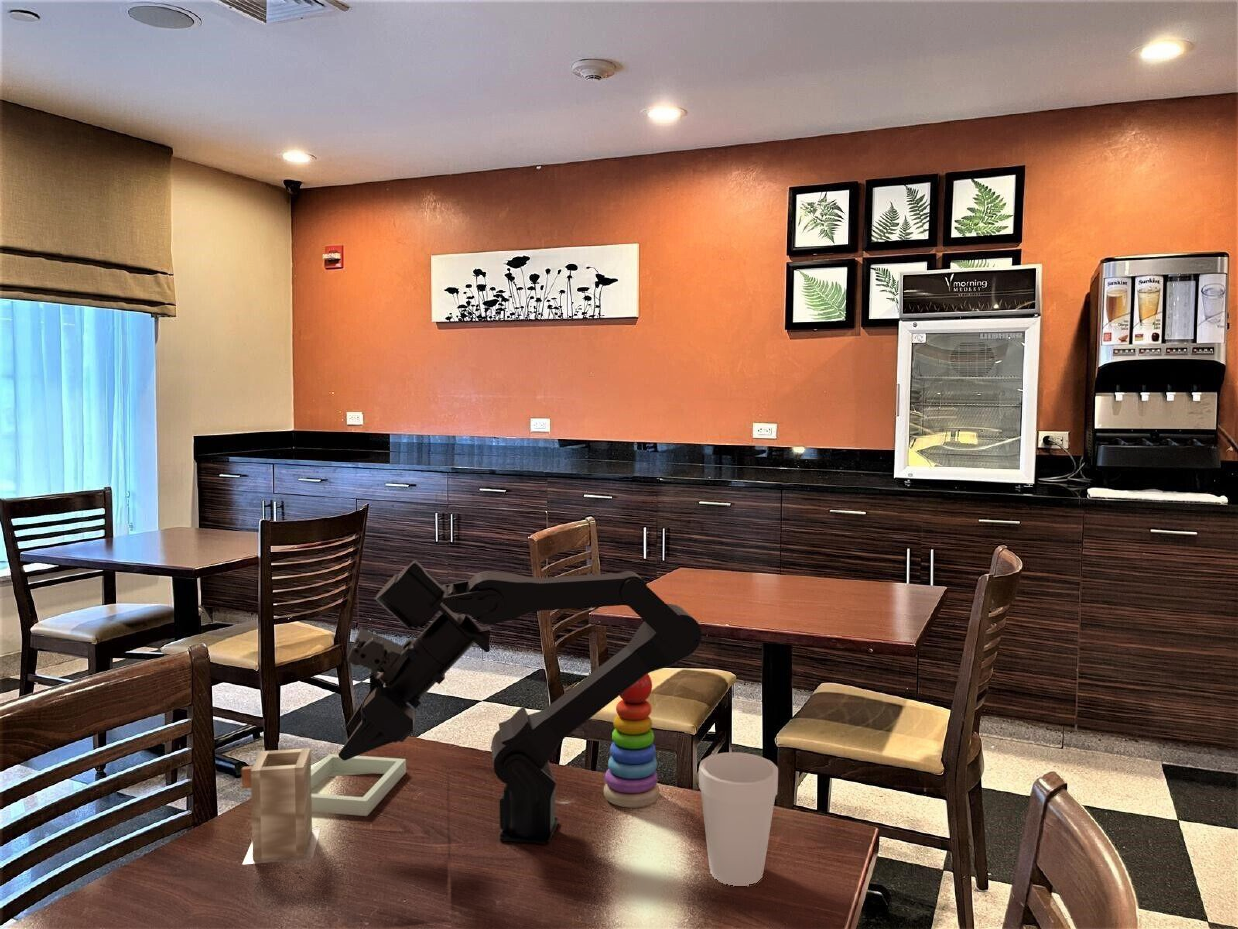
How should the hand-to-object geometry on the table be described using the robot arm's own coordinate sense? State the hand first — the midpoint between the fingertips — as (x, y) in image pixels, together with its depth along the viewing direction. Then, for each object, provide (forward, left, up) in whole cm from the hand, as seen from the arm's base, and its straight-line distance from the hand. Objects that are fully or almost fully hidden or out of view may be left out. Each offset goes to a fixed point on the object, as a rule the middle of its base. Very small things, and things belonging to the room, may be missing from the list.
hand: (345, 743), depth 112 cm
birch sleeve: (+7, +2, -12) cm, 15 cm away
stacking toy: (-34, -20, -14) cm, 41 cm away
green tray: (+6, -14, -13) cm, 20 cm away
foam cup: (-49, -2, -14) cm, 51 cm away
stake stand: (+7, +2, -13) cm, 15 cm away
